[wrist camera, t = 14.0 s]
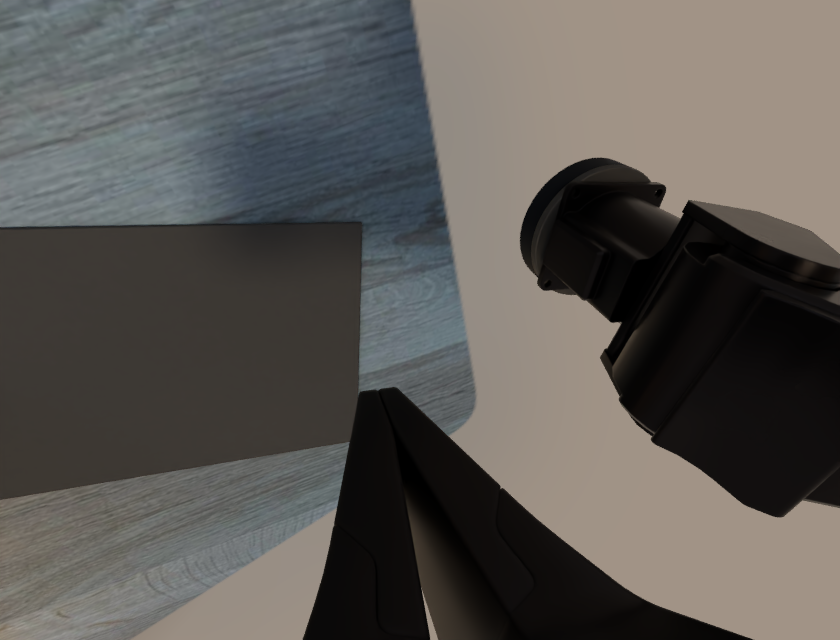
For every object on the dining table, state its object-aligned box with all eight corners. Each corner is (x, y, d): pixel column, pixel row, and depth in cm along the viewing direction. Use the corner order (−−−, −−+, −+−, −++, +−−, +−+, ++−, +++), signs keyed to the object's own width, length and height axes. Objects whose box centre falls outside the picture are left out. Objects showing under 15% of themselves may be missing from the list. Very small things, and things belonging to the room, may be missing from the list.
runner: (361, 221, 21) (362, 223, 21) (356, 438, 30) (356, 440, 30) (-811, 240, 12) (-825, 243, 11) (-304, 547, 21) (-308, 551, 20)
